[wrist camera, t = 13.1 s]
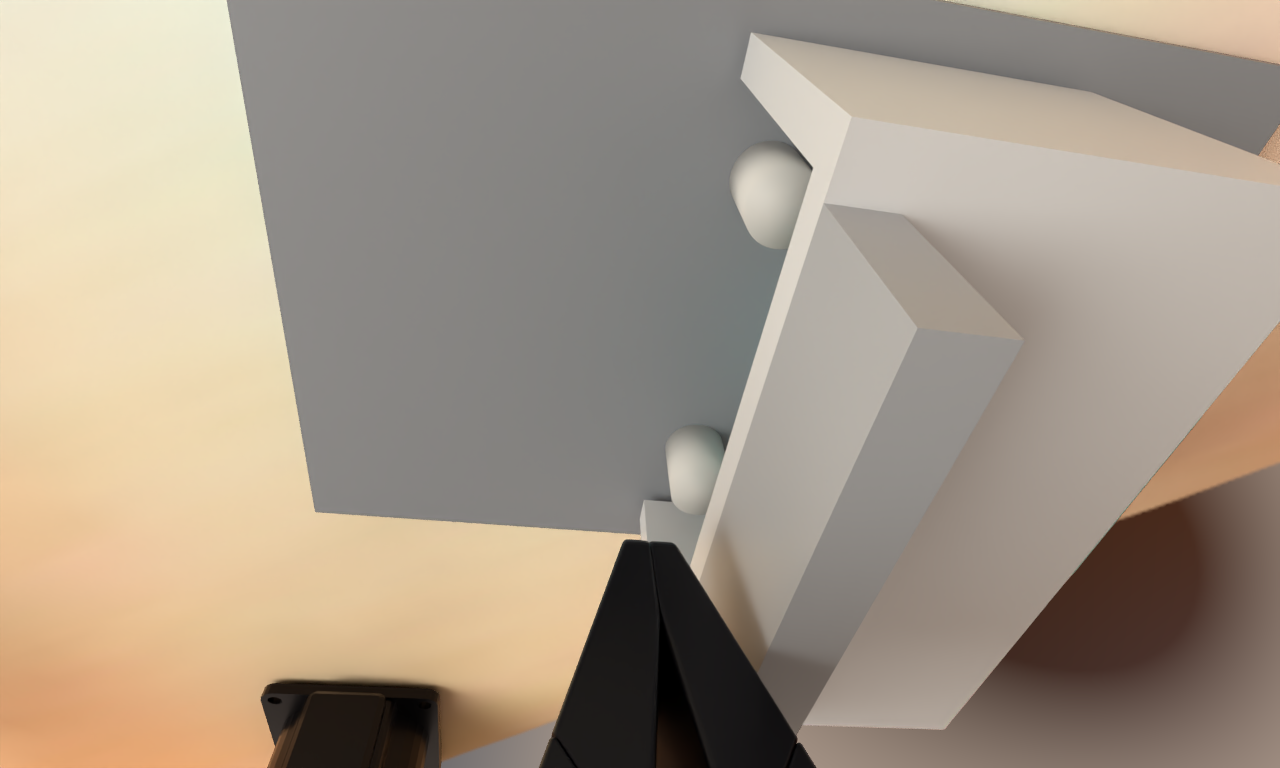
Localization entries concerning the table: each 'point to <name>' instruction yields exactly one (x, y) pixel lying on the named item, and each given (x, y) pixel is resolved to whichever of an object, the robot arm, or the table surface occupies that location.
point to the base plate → (578, 225)
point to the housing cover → (962, 368)
